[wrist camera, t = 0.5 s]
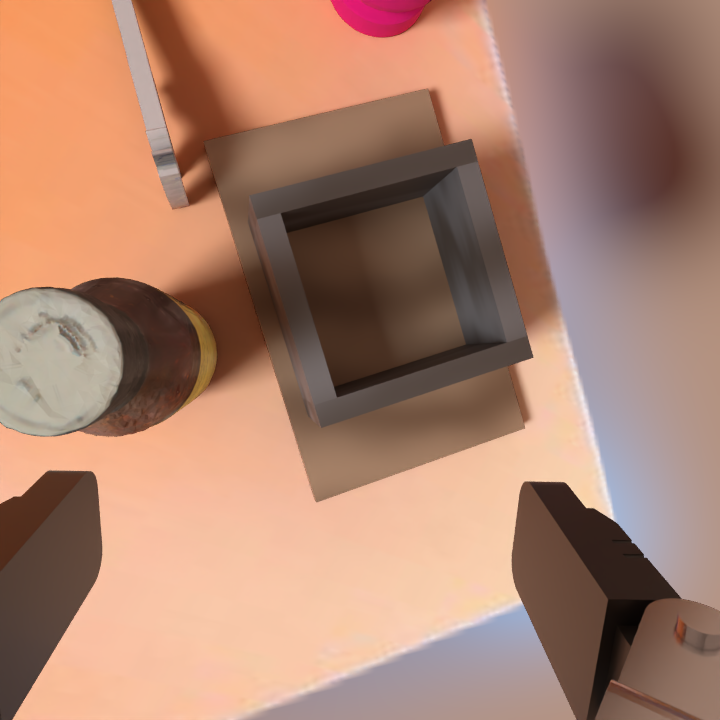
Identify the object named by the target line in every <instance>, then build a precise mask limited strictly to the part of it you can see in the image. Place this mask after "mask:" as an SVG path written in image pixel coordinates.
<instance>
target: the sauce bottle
mask: <svg viewBox="0 0 720 720" xmlns="http://www.w3.org/2000/svg"><path fill="white" fill-rule="evenodd" d="M216 361H217V349H216V342H215V338H214V335H213V333H212V331H211V329H210V327H209V325H208V324H207V322H206V321H205V320H204V318H203V317H202V316H201V315H200V314H199V313H198V312H196V311H195V310H194V309H193V308H191V307H190V306H188V305H186V304H184V303H182V302H180V301H178V300H177V299H175V298H173V297H172V296H170V295H168V294H166V293H164V292H162V291H160V290H159V289H157V288H154V287H152V286H150V285H147V284H145V283H142V282H139V281H135V280H131V279H124V278H100V279H95V280H91V281H88V282H84V283H82V284H80V285H78V286H76V287H74V288H72V289H65V288H53V287H37V288H29V289H25V290H21V291H18V292H16V293H13V294H12V295H10V296H8V297H5V298H3V299H2V300H1V301H0V423H1V424H2V425H4V426H5V427H6V428H9V429H13V430H16V431H18V432H20V433H24V434H28V435H33V436H42V437H44V436H60V435H65V434H69V433H72V432H76V431H81V432H84V433H87V434H92V435H95V436H97V435H99V436H108V437H109V436H114V437H117V436H123V435H127V434H134V433H137V432H140V431H144V430H146V429H147V428H149V427H152V426H154V425H157V424H159V423H161V422H163V421H165V420H166V419H168V418H169V417H171V416H172V415H174V414H175V413H176V412H178V411H179V410H180V409H182V408H183V407H185V406H186V405H188V404H189V403H190V402H192V401H193V400H194V399H195V398H197V397H198V396H199V395H200V394H201V393H202V392H203V391H204V390H205V389H206V387H207V386H208V384H209V382H210V380H211V378H212V376H213V373H214V371H215V367H216Z"/></svg>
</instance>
